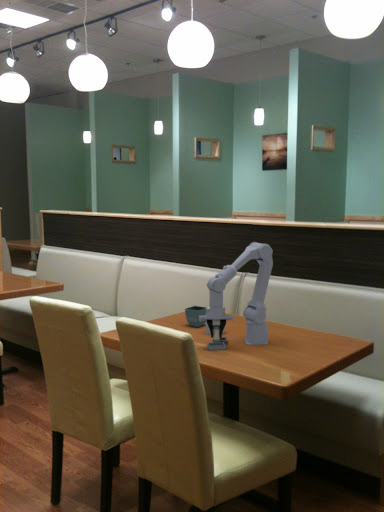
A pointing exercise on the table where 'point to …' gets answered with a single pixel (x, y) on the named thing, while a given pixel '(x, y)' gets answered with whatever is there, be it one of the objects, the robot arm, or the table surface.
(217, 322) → the supplement box
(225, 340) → the socket
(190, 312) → the flower pot
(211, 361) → the table surface
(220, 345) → the tray
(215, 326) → the fuse
